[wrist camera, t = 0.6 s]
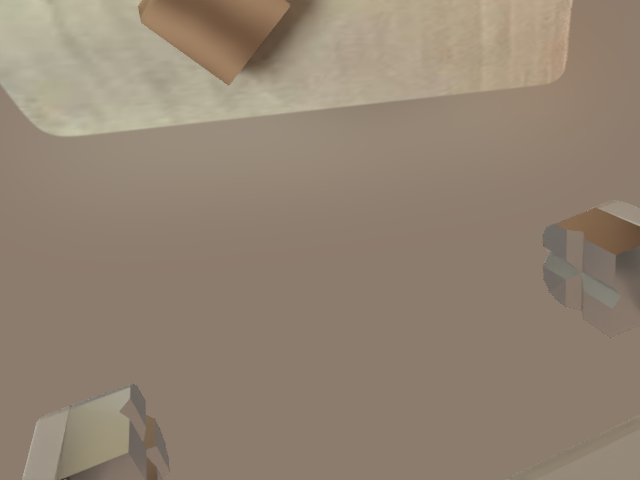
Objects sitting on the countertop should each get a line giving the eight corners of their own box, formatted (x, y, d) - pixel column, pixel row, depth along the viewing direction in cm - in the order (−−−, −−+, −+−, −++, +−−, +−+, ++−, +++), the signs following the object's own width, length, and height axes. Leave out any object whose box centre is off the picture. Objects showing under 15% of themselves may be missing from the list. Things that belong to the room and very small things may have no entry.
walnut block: (197, -84, 42) (206, -74, 39) (276, -10, 48) (291, 5, 44) (137, 5, 45) (141, 22, 42) (219, 66, 51) (228, 85, 47)
